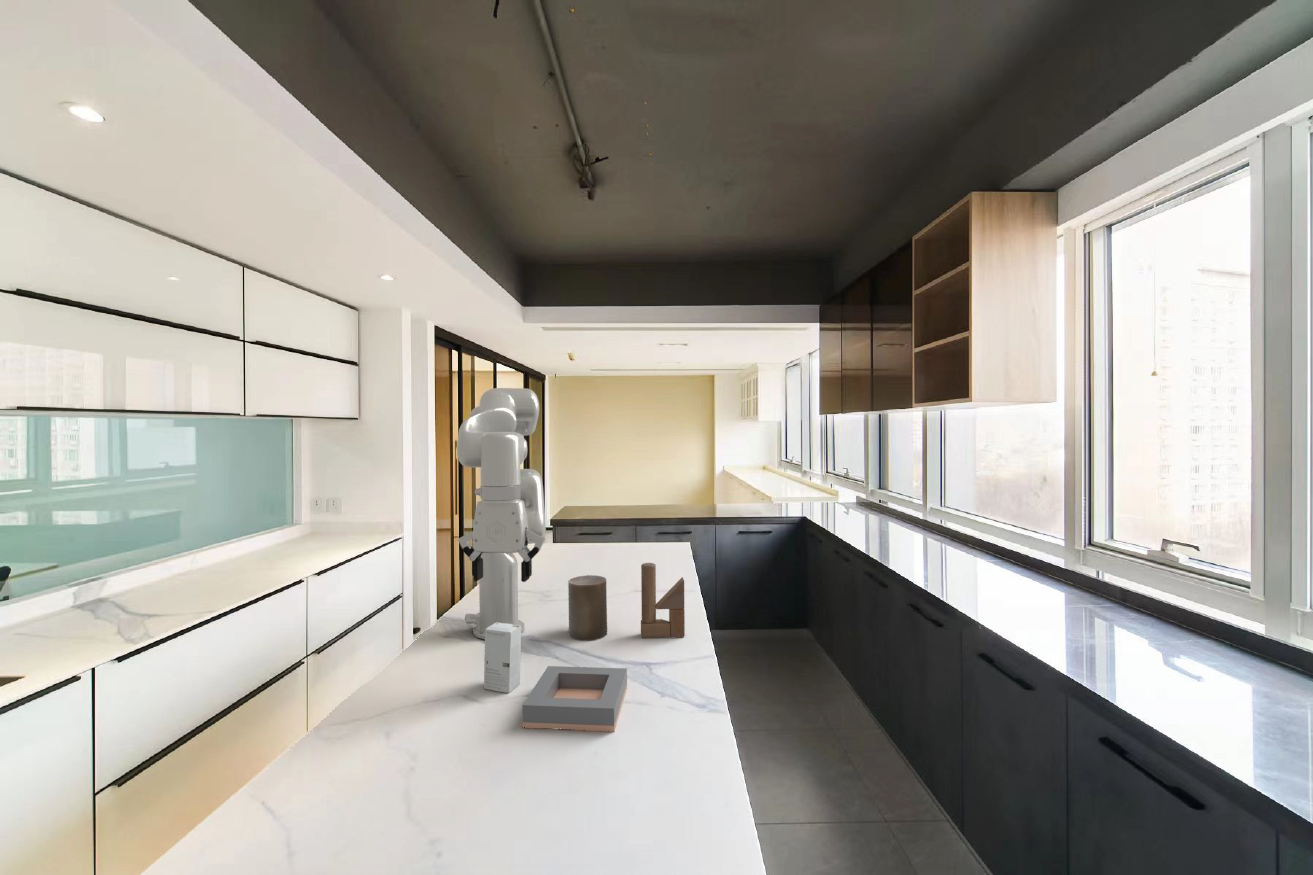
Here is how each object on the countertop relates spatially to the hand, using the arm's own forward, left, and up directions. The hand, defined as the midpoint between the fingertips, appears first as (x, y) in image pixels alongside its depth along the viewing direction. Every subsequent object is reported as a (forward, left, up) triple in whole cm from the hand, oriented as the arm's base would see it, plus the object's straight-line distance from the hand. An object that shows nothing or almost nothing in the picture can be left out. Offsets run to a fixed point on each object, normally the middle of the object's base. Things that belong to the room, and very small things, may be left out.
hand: (502, 579), depth 112 cm
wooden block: (+30, +30, -22) cm, 48 cm away
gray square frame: (+17, -7, -22) cm, 28 cm away
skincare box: (0, 0, -22) cm, 22 cm away
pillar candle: (+11, +30, -22) cm, 39 cm away
